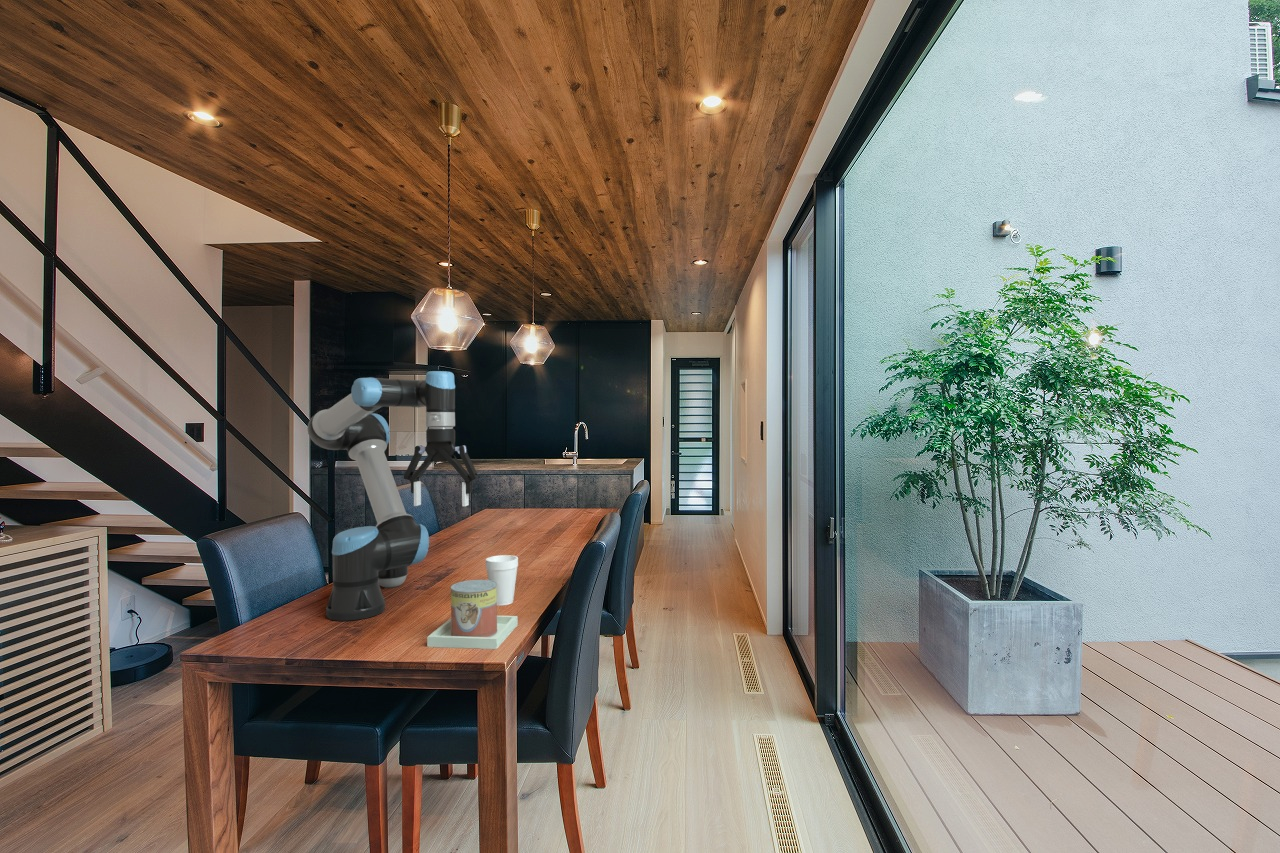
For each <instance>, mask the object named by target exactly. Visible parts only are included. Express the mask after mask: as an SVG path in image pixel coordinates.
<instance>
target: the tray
mask: <svg viewBox="0 0 1280 853" xmlns="http://www.w3.org/2000/svg"><path fill="white" fill-rule="evenodd" d="M518 619H519V618H518V615H497V633H496V634H495V635H494V636H492V637H464V636H451V617H450V618H449V619H447V620H446V621H445V622H444V623H443V624H441V625H440V626H438V627H437V629H435V630H434V631H432V632H431V633H430V634H429V635H428V636H427V639H426V640H427V642H426V643H427V644H426V645H427V648H446V649H447V648H450V649H455V648H456V649H479V650H480V649H482V650H483V649H484V650H497V649H498V648H499V647H500V646H501V645H502V644H503V642H504V641H505V640H506V639H507V638H508V637H509V636H510V634H511V633H512V632H513V631H514V630H515V629H516V628H517V627H518V625H519V624H518Z"/></svg>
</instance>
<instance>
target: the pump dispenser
mask: <svg viewBox="0 0 1280 853" xmlns="http://www.w3.org/2000/svg"><path fill="white" fill-rule="evenodd" d="M408 567H409V566H404V567H398V568H393V569H388V570H382V571H378V583H379V586H380V587H382V588H387V589H388V588H389V589H390V588H391V589H392V588H397V587H399V586H401V585H403V583H404V582H405V581H406V579H407V576H408V574H409V569H408Z"/></svg>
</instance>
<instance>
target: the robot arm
mask: <svg viewBox="0 0 1280 853" xmlns="http://www.w3.org/2000/svg"><path fill="white" fill-rule="evenodd" d="M350 391H351V393H349V394H348V395H347V396H344V398H342V399H340V400H339V401H337V402H336V403H335V404H333V406H331V407H329V408H327V409H322V410H319V411H318V412H317V413H315V414H314V415H313V416H312V417H311V418H310V419H309V421H308V424H307V434H308V436H309V438H310V440H311V441H312V442H313V444H315V445H316V446H318V447H320V448H322V449H326V450H331V451H343V450H344V451H345V450H346V451H347V455H348V457H349V458H350V459H351V460H352V461H355V462H356V465H357V468H358V470H359V474H360V477H361V479H362V482H363V485H364V488H365V491H366V493H367V497H368V500H369V503H370V505H371V509H372V511H373V514H374V517H375V521H376V525H375V526H372V525H367V526H359V527H354V528H353V527H352V528H349V529H346V530H343V531H340V532H338V533H337V534H336V535H335V536H334V538H333V540H332V548H331V554H332V555H331V556H332V590H331V593H330V596H329V597H328V598H329V599H328V601H327V604H326V608H325V609H326V610H325V616H326V618H327V619H329V620H331V621H338V622H339V621H341V622H342V621H343V622H345V621H346V622H347V621H357V620H364V619H367V618H368V619H369V618H372V617H375V616H377V615H380V614H382V613H383V612H385V610H386V599H385V597H384V595H383V591H382V589H381V586H380V585H379V583H378V571H382V570H388V569H393V568H398V567H404V566H408V567H410V566H412V565H417V564H419V563H421V562H422V561H423V560H425V558H426V556H427V554H428V551H429V546H430V537H429V532H428V530H427V527H426V526H425V525H423V524H421V523H417V524H416V521H415V517H414V516H413V515H411V514H410V513H407V512H406V509H405V506H404V504H403V500H402V498H401V495H400V493H399V489H398V487H397V484H396V481H395V478H394V476H393V473H392V470H391V467H390V465H389V462H388V459H387V456H386V454H385V452H386V450H387V447H388V444H389V443H390V440H391V435H390V427H389V424H388V422H387V420H386V419H385V418H384V417H383V416H382V415H380V414H378V413H374V412H376V411H378V410H379V409H380V408H383V407H394V408H395V407H406V408H407V407H409V408H410V407H411V408H423V407H424V408H425V413H426V414H425V419H426V422H425V423H426V424H425V425H426V427H427V429H426V430H425V431H426V434H425V435H426V440H425V441H426V445H425V446H423V445H415V447H414V452H413V455H412V458H411V460H410V462H409V464H408V466H407V468H406V471H405V473H404V475H403V479H404V480H407V481H409V482H410V494H413V507H418V506H422V481H421V480H419V479H420V478H421V477H422V476H423V474H424V473H425V472H426V470H427V469H428V468H429V467H430V466H431V464H433V463H449V464H450V465H451V466H452V467H453V468H454V469H455V470H456V472H457V473H458V475H459V476H460V477H461V478H462V479H463V482H461V491H462V492H461V503H462V507H467V506H469V505H470V503H469V501H470V499H469V498H470V496H469V494H472V491H473V487H472V486H473V485H472V483H473V481H475V480H477V479H479V474H478V472H477V470H476V468H475V466H474V464H473V462H472V460H471V458H470V456H469V453H468V447H467V445H465V444H464V445H460V446H457V445H456V430H455V429H454V427H456V412H455V411H456V384H455V375H454V373H453V372H452V371H446V370H445V371H444V370H442V371H441V370H432V371H431V370H430V371H428V372H426V374H425V379H400V378H399V379H398V378H397V379H395V378H381V377H380V378H379V377H378V378H377V377H371V376H370V377H360V378H357V379H355V380H354V381H353V384H352V386H351V389H350ZM456 452H457V454H459V456H460V458H461V460H462V462H463V465H464V466H465V467H464V466H463V465H462V464H461V463H460V461H458V458H457V457H456V455H455V453H456ZM424 453H425V454H427V456H426V457H425V459H424V461H423V462H422V463H421V465H419V463H420V461H421V458H422V457H423V455H424ZM418 465H419V467H417V466H418ZM465 468H466V469H465Z"/></svg>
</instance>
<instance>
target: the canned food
mask: <svg viewBox="0 0 1280 853" xmlns="http://www.w3.org/2000/svg"><path fill="white" fill-rule="evenodd" d="M450 600H451V601H450V615H451V616H450V618H451V636H464V637H492V636H494V635H495V634H496V633H497V616H498V605H497V583H496V582H494V581H490V580H488V579H470V580H469V579H468V580H463V581H462V580H461V581H458V582H456V583H454V584H452V585H451V586H450Z"/></svg>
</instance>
